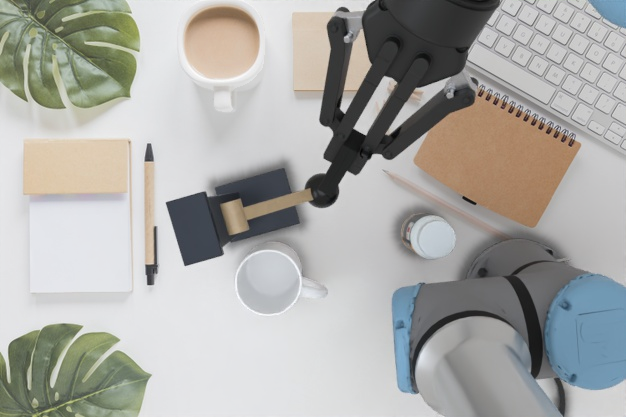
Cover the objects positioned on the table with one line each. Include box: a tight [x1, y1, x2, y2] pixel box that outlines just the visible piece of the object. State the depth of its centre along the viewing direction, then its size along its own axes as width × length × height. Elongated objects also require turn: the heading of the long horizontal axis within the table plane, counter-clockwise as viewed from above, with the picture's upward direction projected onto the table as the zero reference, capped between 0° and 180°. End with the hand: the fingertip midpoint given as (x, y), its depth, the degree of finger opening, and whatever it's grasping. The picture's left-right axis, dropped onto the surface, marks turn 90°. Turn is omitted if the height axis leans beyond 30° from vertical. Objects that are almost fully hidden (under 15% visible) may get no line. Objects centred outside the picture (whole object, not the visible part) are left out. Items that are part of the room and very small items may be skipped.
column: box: [165, 190, 240, 267], centre depth 62 cm, size 4×6×27 cm, turn 16°
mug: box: [234, 240, 329, 317], centre depth 72 cm, size 12×8×10 cm
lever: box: [220, 172, 340, 235], centre depth 54 cm, size 13×4×4 cm
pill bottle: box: [400, 212, 457, 260], centre depth 72 cm, size 6×6×10 cm
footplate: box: [214, 167, 301, 244], centre depth 76 cm, size 10×8×1 cm
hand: (328, 184), depth 54 cm, fingers closed
